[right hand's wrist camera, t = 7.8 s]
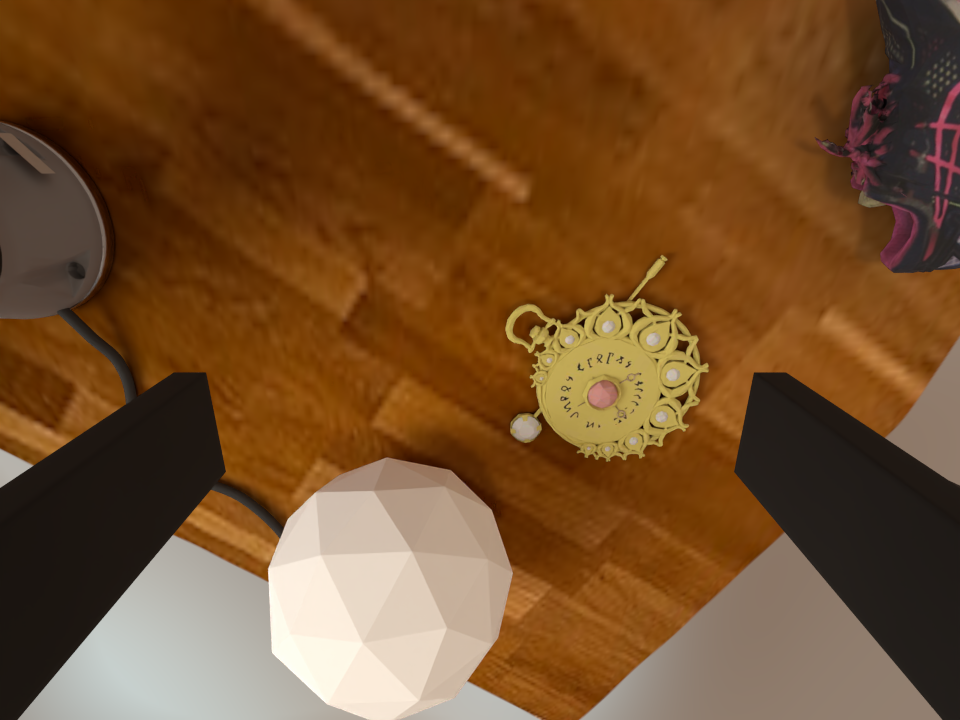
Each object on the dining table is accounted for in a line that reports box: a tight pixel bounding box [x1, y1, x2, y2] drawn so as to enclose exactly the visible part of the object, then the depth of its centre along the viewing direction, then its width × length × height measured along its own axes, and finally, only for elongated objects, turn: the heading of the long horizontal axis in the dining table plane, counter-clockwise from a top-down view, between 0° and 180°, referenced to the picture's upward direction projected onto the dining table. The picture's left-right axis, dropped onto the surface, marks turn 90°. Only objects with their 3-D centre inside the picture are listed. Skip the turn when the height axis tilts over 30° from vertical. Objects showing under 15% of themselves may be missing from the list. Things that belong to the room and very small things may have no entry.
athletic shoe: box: [815, 0, 960, 273], centre depth 36 cm, size 11×22×12 cm
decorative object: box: [506, 255, 709, 462], centre depth 45 cm, size 21×2×20 cm
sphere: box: [268, 458, 513, 720], centre depth 43 cm, size 19×20×20 cm
